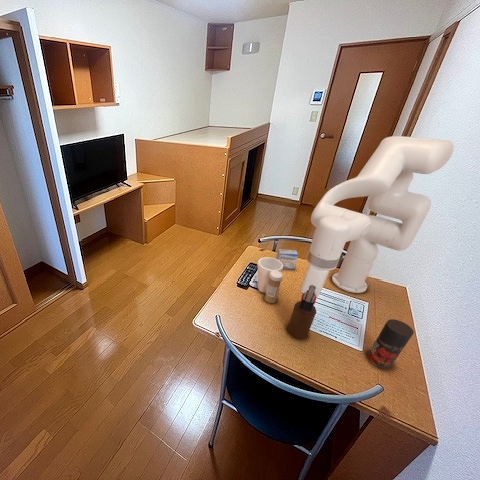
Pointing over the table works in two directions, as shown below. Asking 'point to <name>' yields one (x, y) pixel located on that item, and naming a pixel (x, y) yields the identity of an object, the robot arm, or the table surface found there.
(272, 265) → the foam cup
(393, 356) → the deodorant
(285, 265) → the medicine box
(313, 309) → the sauce bottle
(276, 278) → the sprinkles bottle
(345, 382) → the table surface
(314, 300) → the cap
